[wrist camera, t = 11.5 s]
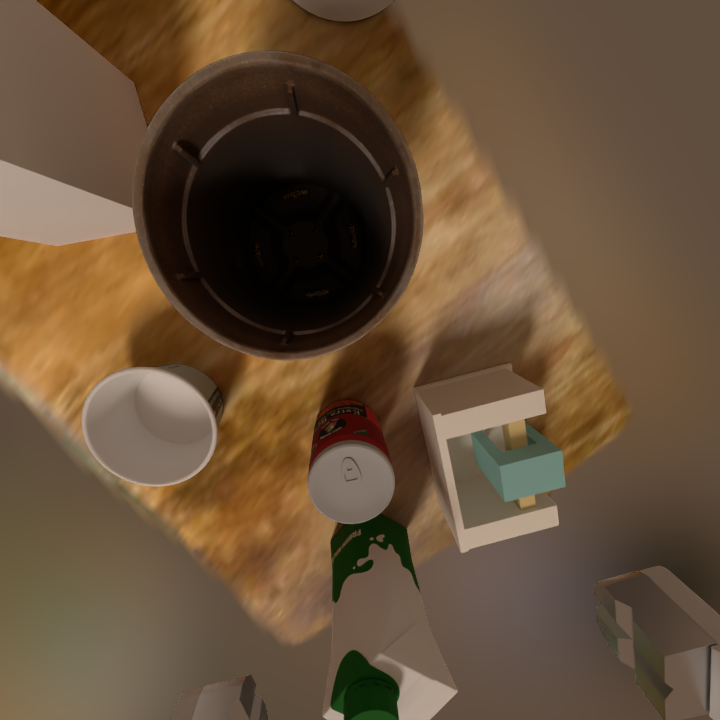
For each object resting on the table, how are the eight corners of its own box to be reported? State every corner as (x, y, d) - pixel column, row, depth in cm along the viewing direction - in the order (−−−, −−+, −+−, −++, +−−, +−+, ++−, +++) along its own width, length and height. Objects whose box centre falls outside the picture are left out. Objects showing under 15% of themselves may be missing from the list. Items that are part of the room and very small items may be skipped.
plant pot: (193, 189, 33) (68, 116, 17) (351, 128, 33) (367, -4, 17) (264, 345, 37) (214, 397, 22) (404, 291, 37) (456, 305, 21)
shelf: (413, 387, 40) (432, 415, 32) (509, 362, 40) (551, 384, 32) (438, 503, 44) (461, 553, 36) (525, 480, 44) (566, 525, 36)
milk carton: (361, 493, 42) (383, 677, 23) (417, 527, 44) (481, 724, 25) (320, 543, 44) (308, 756, 25) (376, 574, 46) (407, 796, 26)
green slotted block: (470, 432, 39) (499, 466, 32) (522, 419, 39) (561, 450, 32) (475, 463, 40) (504, 502, 33) (526, 450, 40) (565, 486, 33)
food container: (199, 332, 36) (171, 345, 30) (255, 426, 39) (240, 455, 33) (100, 380, 37) (51, 402, 31) (162, 469, 40) (130, 506, 34)
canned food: (361, 386, 39) (371, 428, 28) (391, 442, 41) (411, 501, 30) (301, 416, 39) (289, 468, 29) (334, 470, 41) (333, 538, 31)
